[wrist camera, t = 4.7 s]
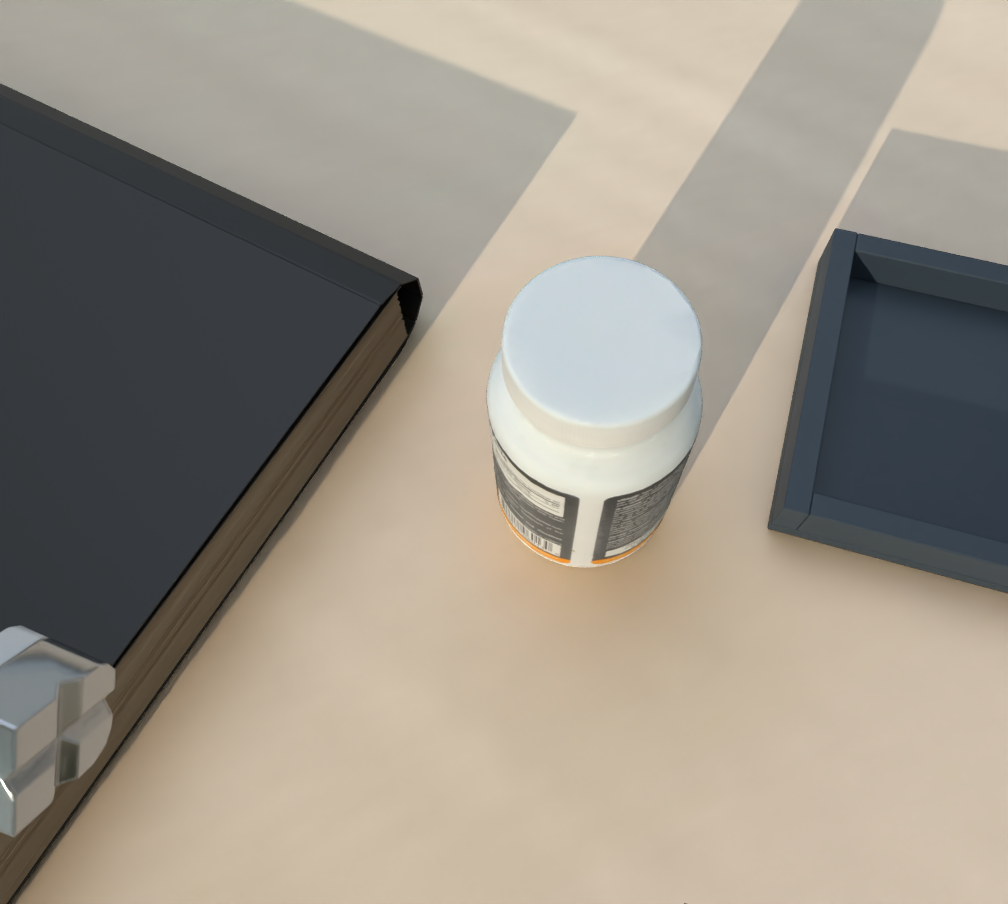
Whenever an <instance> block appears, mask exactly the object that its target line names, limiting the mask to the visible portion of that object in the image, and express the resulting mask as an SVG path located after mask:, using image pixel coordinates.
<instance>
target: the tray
mask: <svg viewBox="0 0 1008 904" xmlns="http://www.w3.org/2000/svg"><path fill="white" fill-rule="evenodd" d="M768 529H771V530H775V531H779V532H782V533H786V534H790V535H793V536H797V537H801V538H805V539H808V540H812V541H816V542H819V543H823V544H827V545H831V546H834V547H838V548H842V549H845V550H849V551H853V552H857V553H860V554H864V555H868V556H872V557H875V558H879V559H883V560H886V561H890V562H894V563H898V564H901V565H905V566H909V567H912V568H916V569H920V570H924V571H927V572H931V573H935V574H938V575H942V576H946V577H950V578H953V579H957V580H961V581H964V582H968V583H972V584H976V585H979V586H983V587H987V588H990V589H994V590H998V591H1002V592H1005V593H1008V266H1006V265H1002V264H997V263H993V262H988V261H983V260H979V259H974V258H970V257H965V256H960V255H956V254H951V253H947V252H942V251H937V250H933V249H928V248H923V247H919V246H914V245H910V244H905V243H900V242H896V241H891V240H887V239H882V238H877V237H873V236H868V235H864V234H858V235H857V233H856V232H851V231H846V230H842V229H837V228H836V229H835V230H834V232H833V234H832V236H831V238H830V240H829V242H828V244H827V246H826V248H825V250H824V252H823V254H822V256H821V258H820V260H819V262H818V266H817V272H816V277H815V282H814V287H813V293H812V298H811V303H810V308H809V313H808V319H807V324H806V329H805V334H804V340H803V345H802V350H801V355H800V360H799V366H798V371H797V376H796V381H795V387H794V392H793V397H792V402H791V408H790V413H789V418H788V423H787V428H786V434H785V439H784V444H783V449H782V455H781V460H780V465H779V470H778V476H777V481H776V486H775V491H774V496H773V502H772V507H771V512H770V517H769V523H768Z"/></svg>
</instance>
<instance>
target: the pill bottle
mask: <svg viewBox="0 0 1008 904" xmlns="http://www.w3.org/2000/svg"><path fill="white" fill-rule="evenodd" d="M701 354H702V335H701V329H700V325H699V321H698V318H697V315H696V313H695V311H694V309H693V307H692V305H691V304H690V302H689V301H688V299H687V298H686V297H685V295H684V294H683V293H682V292H681V290H680V289H679V288H678V287H677V286H676V285H675V284H674V283H673V282H672V281H671V280H669V279H668V278H667V277H665V276H664V275H662V274H661V273H659V272H657V271H656V270H654V269H652V268H650V267H648V266H645V265H644V264H641V263H638V262H636V261H632V260H629V259H624V258H618V257H609V256H589V257H582V258H576V259H572V260H568V261H565V262H562V263H559V264H557V265H555V266H553V267H551V268H549V269H547V270H545V271H543V272H542V273H540V274H539V275H537V276H536V277H535V278H533V279H532V280H531V281H530V282H529V283H528V284H527V285H525V286H524V288H523V289H522V290H521V291H520V292H519V294H518V295H517V296H516V298H515V299H514V301H513V302H512V304H511V306H510V308H509V310H508V313H507V315H506V318H505V321H504V325H503V331H502V342H501V349H500V350H499V352H498V354H497V356H496V358H495V360H494V363H493V366H492V369H491V372H490V376H489V379H488V385H487V391H486V400H487V408H488V416H489V423H490V430H491V438H492V447H493V458H494V470H495V477H496V485H497V494H498V498H499V503H500V506H501V509H502V512H503V514H504V517H505V519H506V521H507V523H508V525H509V526H510V528H511V529H512V531H513V532H514V533H515V535H516V536H517V537H518V538H519V539H520V540H521V541H522V542H523V543H524V544H525V545H526V546H527V547H528V548H530V549H531V550H532V551H534V552H535V553H537V554H539V555H540V556H542V557H544V558H546V559H548V560H551V561H553V562H556V563H559V564H563V565H566V566H571V567H582V568H584V567H597V566H603V565H607V564H612V563H615V562H617V561H619V560H621V559H623V558H626V557H628V556H629V555H631V554H633V553H634V552H635V551H637V550H638V549H639V548H641V547H642V546H643V545H644V544H645V543H646V542H647V541H648V540H649V539H650V538H651V536H652V535H653V534H654V532H655V531H656V529H657V528H658V526H659V524H660V523H661V521H662V519H663V517H664V515H665V513H666V511H667V509H668V506H669V504H670V501H671V498H672V496H673V493H674V491H675V489H676V486H677V484H678V481H679V479H680V477H681V474H682V472H683V469H684V467H685V464H686V462H687V459H688V457H689V454H690V452H691V449H692V446H693V444H694V442H695V439H696V437H697V434H698V431H699V426H700V422H701V417H702V390H701V385H700V381H699V377H698V369H699V365H700V361H701Z"/></svg>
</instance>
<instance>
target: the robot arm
mask: <svg viewBox="0 0 1008 904" xmlns="http://www.w3.org/2000/svg"><path fill="white" fill-rule="evenodd" d="M115 671H116V669H114V668H113V667H112V666H111V665H109V664H108V663H106V662H103V661H101V660H99V659H97V658H94V657H92V656H90V655H88V654H85V653H83V652H81V651H79V650H77V649H74V648H72V647H70V646H68V645H65V644H63V643H61V642H59V641H57V640H54V639H52V638H48V637H46V636H44V635H41V634H39V633H37V632H35V631H33V630H30V629H28V628H26V627H24V626H22V625H20V626H14V627H8V628H6V629H5V630H3V631H1V632H0V832H2V833H4V834H7V835H9V836H11V837H15V836H16V835H17V834H18V833H20V832H21V831H22V830H23V829H24V828H25V827H26V826H27V825H28V824H29V823H30V822H32V821H33V820H34V819H35V818H36V817H37V816H38V815H39V814H40V813H41V812H43V811H44V810H45V809H46V808H47V807H48V806H49V805H50V804H51V803H52V802H53V798H54V792H55V786H58V785H61V784H64V783H67V782H71V781H74V780H77V779H79V778H80V777H81V776H82V775H83V774H84V773H85V772H86V771H87V770H88V769H89V768H90V767H91V766H92V765H93V764H94V763H95V761H96V760H97V758H98V756H99V755H100V753H101V752H102V750H103V749H104V747H105V746H106V744H107V741H108V738H109V735H110V732H111V729H112V720H113V713H112V711H111V709H110V707H109V705H108V703H107V701H106V699H105V697H106V696H107V695H108V694H109V693H110V692H112V691H113V690H114V689H115ZM684 904H686V903H684Z"/></svg>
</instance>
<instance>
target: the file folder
mask: <svg viewBox="0 0 1008 904" xmlns="http://www.w3.org/2000/svg"><path fill="white" fill-rule="evenodd" d="M422 295H423V293H422V289H421V286H420V282H419V279H418V278H417V277H414V276H412V275H410V274H408V273H406V272H404V271H402V270H399V269H397V268H395V267H393V266H391V265H389V264H387V263H384V262H382V261H380V260H378V259H376V258H374V257H372V256H369V255H367V254H365V253H363V252H361V251H359V250H357V249H354V248H352V247H350V246H348V245H346V244H344V243H342V242H339V241H337V240H335V239H333V238H331V237H329V236H327V235H324V234H322V233H320V232H318V231H316V230H314V229H312V228H309V227H307V226H305V225H303V224H301V223H299V222H297V221H294V220H292V219H290V218H288V217H286V216H284V215H281V214H279V213H277V212H275V211H273V210H271V209H269V208H266V207H264V206H262V205H260V204H258V203H256V202H254V201H251V200H249V199H247V198H245V197H243V196H241V195H239V194H236V193H234V192H232V191H230V190H228V189H226V188H224V187H221V186H219V185H217V184H215V183H213V182H211V181H209V180H206V179H204V178H202V177H200V176H198V175H196V174H193V173H191V172H189V171H187V170H185V169H183V168H181V167H178V166H176V165H174V164H172V163H170V162H168V161H166V160H163V159H161V158H159V157H157V156H155V155H153V154H151V153H148V152H146V151H144V150H142V149H140V148H138V147H136V146H133V145H131V144H129V143H127V142H125V141H123V140H121V139H118V138H116V137H114V136H112V135H110V134H108V133H105V132H103V131H101V130H99V129H97V128H95V127H93V126H90V125H88V124H86V123H84V122H82V121H80V120H78V119H75V118H73V117H71V116H69V115H67V114H65V113H63V112H60V111H58V110H56V109H54V108H52V107H50V106H48V105H45V104H43V103H41V102H39V101H37V100H35V99H33V98H30V97H28V96H26V95H24V94H22V93H20V92H18V91H15V90H13V89H11V88H9V87H7V86H5V85H3V84H0V632H1V631H3V630H5V629H6V628H8V627H14V626H20V625H22V626H24V627H26V628H28V629H30V630H33V631H35V632H37V633H39V634H41V635H44V636H46V637H48V638H52V639H54V640H57V641H59V642H61V643H63V644H65V645H68V646H70V647H72V648H74V649H77V650H79V651H81V652H83V653H85V654H88V655H90V656H92V657H94V658H97V659H99V660H101V661H103V662H106V663H108V664H109V665H111V666H112V667H113V668H114V669H116V671H115V689H114V690H113V691H112V692H110V693H109V694H108V695H107V696H106V697H105V699H106V701H107V703H108V705H109V707H110V709H111V711H112V713H113V720H112V729H111V732H110V735H109V738H108V741H107V744H106V746H105V747H104V749H103V750H102V752H101V753H100V755H99V756H98V758H97V760H96V761H95V763H94V764H93V765H92V766H91V767H90V768H89V769H88V770H87V771H86V772H85V773H84V774H83V775H82V776H81V777H80V778H79V779H77V780H74V781H71V782H67V783H64V784H61V785H58V786H55V792H54V798H53V802H52V803H51V804H50V805H49V806H48V807H47V808H46V809H45V810H44V811H43V812H41V813H40V814H39V815H38V816H37V817H36V818H35V819H34V820H33V821H32V822H30V823H29V824H28V825H27V826H26V827H25V828H24V829H23V830H22V831H21V832H20V833H18V834H17V835H16V836H15V837H11V836H9V835H7V834H4V833H2V832H0V904H10V903H11V901H12V900H13V898H14V897H15V895H16V894H17V893H18V891H19V890H20V888H21V887H22V886H23V884H24V883H25V881H26V880H27V879H28V877H29V876H30V874H31V873H32V871H33V870H34V869H35V867H36V866H37V864H38V863H39V862H40V860H41V859H42V857H43V856H44V855H45V853H46V852H47V850H48V849H49V847H50V846H51V845H52V843H53V842H54V840H55V839H56V838H57V836H58V835H59V833H60V832H61V831H62V829H63V828H64V826H65V825H66V823H67V822H68V821H69V819H70V818H71V816H72V815H73V814H74V812H75V811H76V809H77V808H78V807H79V805H80V804H81V802H82V801H83V800H84V798H85V797H86V795H87V794H88V792H89V791H90V790H91V788H92V787H93V785H94V784H95V783H96V781H97V780H98V778H99V777H100V776H101V774H102V773H103V771H104V770H105V768H106V767H107V766H108V764H109V763H110V761H111V760H112V759H113V757H114V756H115V754H116V753H117V752H118V750H119V749H120V747H121V746H122V744H123V743H124V742H125V740H126V739H127V737H128V736H129V735H130V733H131V732H132V730H133V729H134V728H135V726H136V725H137V723H138V722H139V720H140V719H141V718H142V716H143V715H144V713H145V712H146V711H147V709H148V708H149V706H150V705H151V704H152V702H153V701H154V699H155V698H156V696H157V695H158V694H159V692H160V691H161V689H162V688H163V687H164V685H165V684H166V682H167V681H168V680H169V678H170V677H171V675H172V674H173V672H174V671H175V670H176V668H177V667H178V665H179V664H180V663H181V661H182V660H183V658H184V657H185V656H186V654H187V653H188V651H189V650H190V648H191V647H192V646H193V644H194V643H195V641H196V640H197V639H198V637H199V636H200V634H201V633H202V632H203V630H204V629H205V627H206V626H207V625H208V623H209V622H210V620H211V619H212V617H213V616H214V615H215V613H216V612H217V610H218V609H219V608H220V606H221V605H222V603H223V602H224V601H225V599H226V598H227V596H228V595H229V593H230V592H231V591H232V589H233V588H234V586H235V585H236V584H237V582H238V581H239V579H240V578H241V577H242V575H243V574H244V572H245V571H246V569H247V568H248V567H249V565H250V564H251V562H252V561H253V560H254V558H255V557H256V555H257V554H258V553H259V551H260V550H261V548H262V547H263V546H264V544H265V543H266V541H267V540H268V538H269V537H270V536H271V534H272V533H273V531H274V530H275V529H276V527H277V526H278V524H279V523H280V522H281V520H282V519H283V517H284V516H285V514H286V513H287V512H288V510H289V509H290V507H291V506H292V505H293V503H294V502H295V500H296V499H297V498H298V496H299V495H300V493H301V492H302V491H303V489H304V488H305V486H306V485H307V483H308V482H309V481H310V479H311V478H312V476H313V475H314V474H315V472H316V471H317V469H318V468H319V467H320V465H321V464H322V462H323V461H324V459H325V458H326V457H327V455H328V454H329V452H330V451H331V450H332V448H333V447H334V445H335V444H336V443H337V441H338V440H339V438H340V437H341V436H342V434H343V433H344V431H345V430H346V428H347V427H348V426H349V424H350V423H351V421H352V420H353V419H354V417H355V416H356V414H357V413H358V412H359V410H360V409H361V407H362V406H363V404H364V403H365V402H366V400H367V399H368V397H369V396H370V395H371V393H372V392H373V390H374V389H375V388H376V386H377V385H378V383H379V382H380V380H381V379H382V378H383V376H384V375H385V373H386V372H387V371H388V369H389V368H390V366H391V365H392V364H393V362H394V361H395V359H396V358H397V357H398V355H399V354H400V352H401V351H402V348H403V347H404V346H405V344H406V341H407V339H408V337H409V335H410V333H411V331H412V329H413V327H414V325H415V321H416V320H417V317H418V313H419V309H420V306H421V302H422V298H423V296H422Z"/></svg>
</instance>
